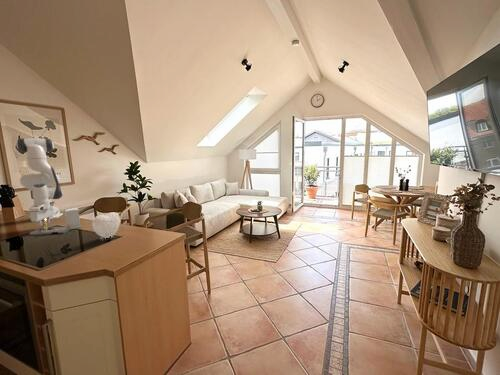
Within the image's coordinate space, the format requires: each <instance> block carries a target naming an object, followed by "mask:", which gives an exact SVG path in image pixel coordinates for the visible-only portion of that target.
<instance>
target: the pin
mask: <svg viewBox="0 0 500 375" xmlns="http://www.w3.org/2000/svg"><path fill="white" fill-rule="evenodd" d="M41 223H42V226H41V230H44V229H46V228H49V227H48V223H47V219H46V218H45V219H43V220H41Z"/></svg>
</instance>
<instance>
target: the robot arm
mask: <svg viewBox="0 0 500 375" xmlns="http://www.w3.org/2000/svg"><path fill="white" fill-rule="evenodd" d="M16 148H17V150H18V151H20V152H21V153H24V154H26V160H27V165H28V167H29V169H31V170H32V171H35V172H37V173H30V174H29V173H28V174H24V175H22V176H21V177H20V179H19V183H20V185H22V187H24V188H26V189H27V190H29V191H30V196H31V197H30V198H31V199H32V200H33V204H32V206H30V207H29V208H28V210H29V218H30V222H32V223H37V225H38V227H42V223H41V220H43V219H45V218H46V219H47V224H49V223H50V220H54V219H58V218H60V217H61V216H63V215H64V213H63V212H60V211H61V210H60V209H59V207H57V206H55V205H54V204H56V201H55V200H59V199H61V198H62V197H63V194H64V193H63V189H62V187H61V185H60V182H61V177H60V175H58V174H57V173H56V171H55V169H54V167H53V166H52V165H50V164H49V163H48V158H47V153H51V152H53V151H54V148H55V145H54V142H53V140H52V139H48V138H39V137H37V138H36V137H34V138H29V137H28V138H19V139H17V141H16ZM53 200H54V201H53Z"/></svg>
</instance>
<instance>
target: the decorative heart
mask: <svg viewBox="0 0 500 375" xmlns="http://www.w3.org/2000/svg"><path fill="white" fill-rule="evenodd" d="M91 224H92V229H93V231H94V233H96V235H98V236H99V237H100V240H101V239H102V240H103V239H104V238H105V239H106V238H109V237H110V236H111V238H113V237H114V236H115V234H116V232H118V229H119V228H120V224H121V216H120V215H119V214H118V213H117V212H114V211H113V212H108V213H106V214H105V215H104V214H100V215H99V214H98V215H97V216H95V217H94V218H93V220H92V222H91ZM113 235H114V236H113Z"/></svg>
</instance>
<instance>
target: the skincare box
mask: <svg viewBox="0 0 500 375" xmlns="http://www.w3.org/2000/svg"><path fill="white" fill-rule="evenodd" d="M64 214H65V220H66V227H69V228H70V229H69V231H70V230H75V229H81V219H80V212H79V208H78V207H74V208H70V209H64Z"/></svg>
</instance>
